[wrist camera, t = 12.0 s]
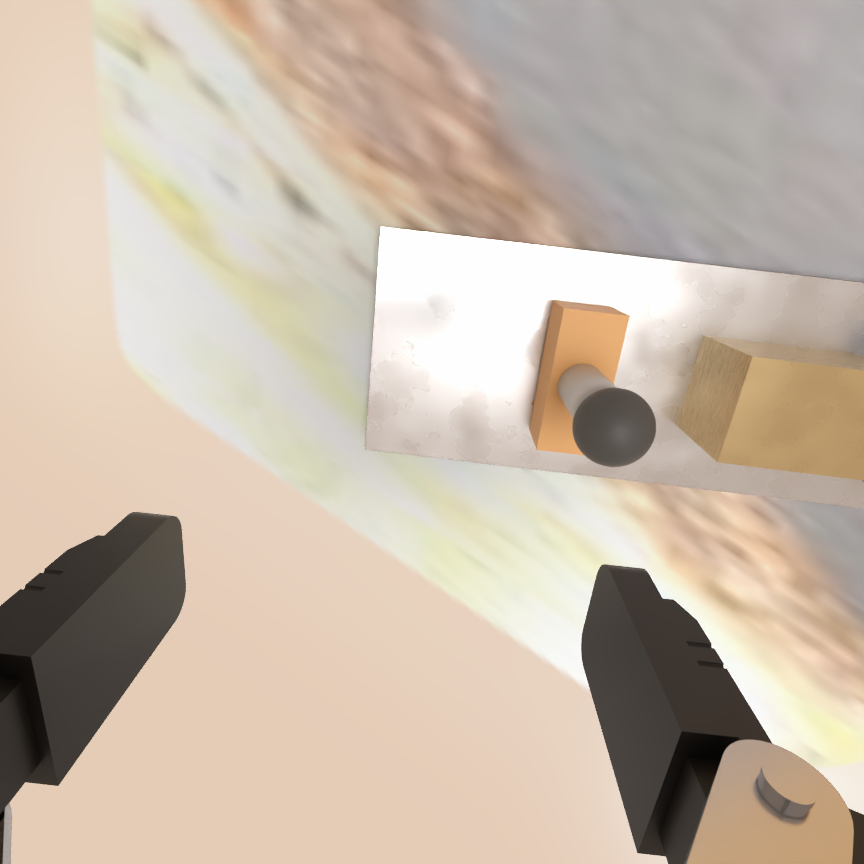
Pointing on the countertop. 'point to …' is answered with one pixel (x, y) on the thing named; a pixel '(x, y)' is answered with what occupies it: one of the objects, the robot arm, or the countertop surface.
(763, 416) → the block
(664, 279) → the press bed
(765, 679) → the countertop surface
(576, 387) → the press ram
